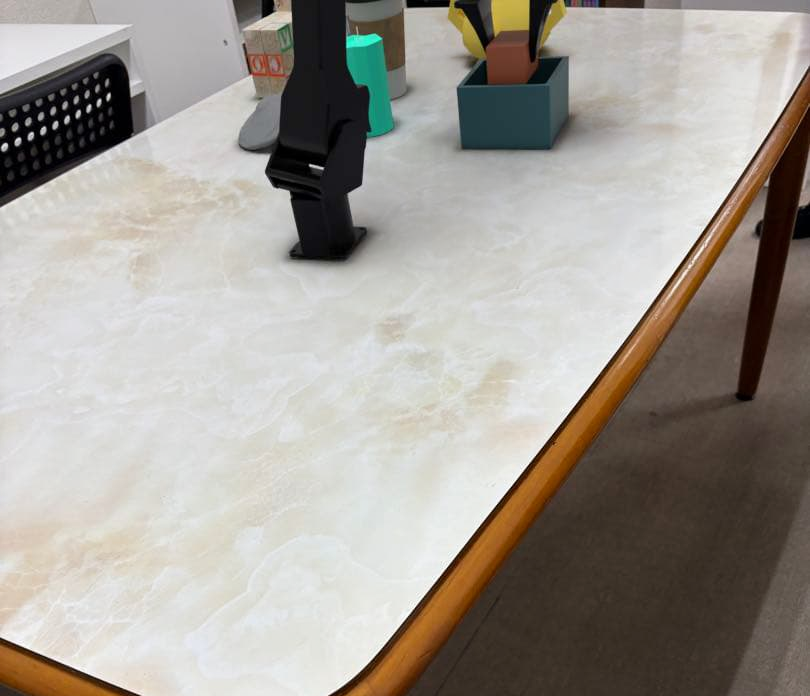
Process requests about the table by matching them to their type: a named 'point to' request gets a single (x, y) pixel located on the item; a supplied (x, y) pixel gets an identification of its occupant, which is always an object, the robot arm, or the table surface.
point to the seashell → (262, 124)
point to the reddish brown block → (510, 58)
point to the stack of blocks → (273, 49)
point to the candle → (371, 78)
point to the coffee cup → (383, 35)
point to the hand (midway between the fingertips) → (513, 62)
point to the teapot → (503, 21)
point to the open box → (514, 108)
